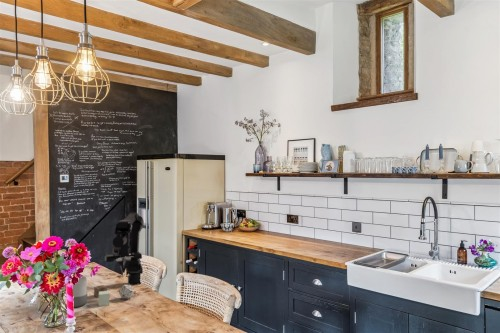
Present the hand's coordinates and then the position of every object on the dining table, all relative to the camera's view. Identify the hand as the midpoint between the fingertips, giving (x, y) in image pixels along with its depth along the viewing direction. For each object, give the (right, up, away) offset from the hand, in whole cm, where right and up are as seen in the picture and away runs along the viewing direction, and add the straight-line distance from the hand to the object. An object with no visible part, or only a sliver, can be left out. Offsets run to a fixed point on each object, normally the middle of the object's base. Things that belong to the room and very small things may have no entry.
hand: (123, 272), depth 210 cm
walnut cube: (-13, -13, +1) cm, 18 cm away
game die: (+3, -13, -4) cm, 14 cm away
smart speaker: (-19, -13, -14) cm, 27 cm away
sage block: (-6, -13, -12) cm, 19 cm away
